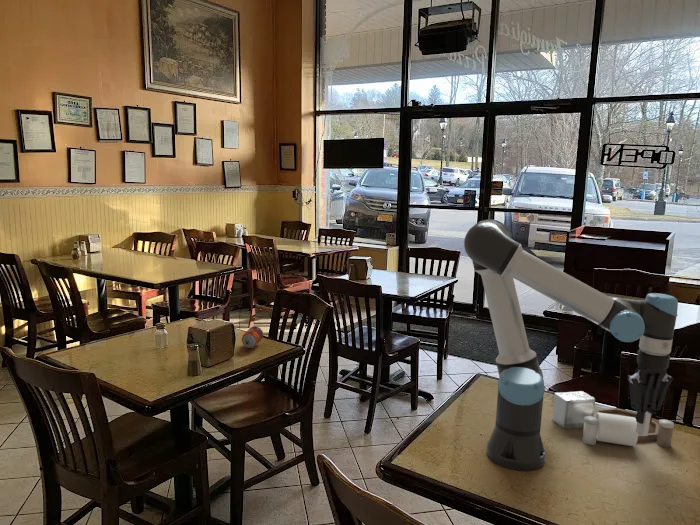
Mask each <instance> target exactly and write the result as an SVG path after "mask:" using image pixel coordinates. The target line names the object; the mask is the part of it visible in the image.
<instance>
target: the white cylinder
mask: <svg viewBox="0 0 700 525" xmlns="http://www.w3.org/2000/svg"><path fill="white" fill-rule="evenodd" d="M595 418H597V419H598V420H599V422H598V429H597V438H596V442H603V443H608V444H609V443H610V444H615V445H623V446H628V447H635V446H636V445H637V443H638V442H637V439H638V433H637V432H636V427H637V421H636V418H634V417H628V416H621V415H614V414H607V413H599V412H598V413H597V414H596V417H595Z"/></svg>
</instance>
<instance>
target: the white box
mask: <svg viewBox="0 0 700 525" xmlns="http://www.w3.org/2000/svg"><path fill="white" fill-rule="evenodd" d="M553 398H554V399H553V406H552V418H551V420H552V421H553V422H554V423H555V424H557V425H558V426H559V427H560V428H562V429H574V428H576V429H577V428H584V418H585V417H586V416H592V417H593V416H594V412H595V406H596V398H595V397H594V396H592V395H590V394H589V393H587V392H584V391H583V390H579V391H567V392H566V391H565V392H564V391H563V392H554V397H553Z"/></svg>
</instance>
